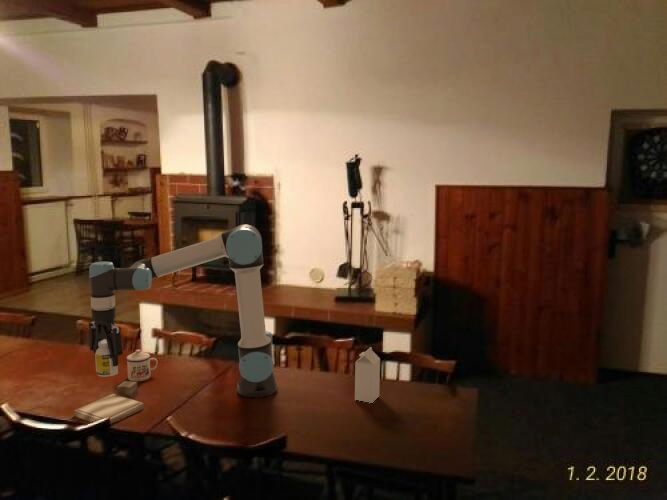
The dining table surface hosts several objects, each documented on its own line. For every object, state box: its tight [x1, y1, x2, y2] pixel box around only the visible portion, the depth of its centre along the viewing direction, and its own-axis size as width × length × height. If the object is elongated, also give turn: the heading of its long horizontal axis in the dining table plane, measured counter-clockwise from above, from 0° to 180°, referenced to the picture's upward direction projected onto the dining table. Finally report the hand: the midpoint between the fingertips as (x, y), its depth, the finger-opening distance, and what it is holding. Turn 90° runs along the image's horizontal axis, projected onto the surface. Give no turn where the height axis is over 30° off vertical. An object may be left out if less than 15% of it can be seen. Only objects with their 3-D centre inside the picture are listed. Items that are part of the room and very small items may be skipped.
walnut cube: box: [117, 380, 139, 400], centre depth 200 cm, size 5×5×5 cm
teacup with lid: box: [125, 349, 159, 383], centre depth 218 cm, size 12×9×12 cm
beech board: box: [73, 393, 145, 424], centre depth 188 cm, size 16×16×2 cm
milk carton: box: [354, 347, 381, 404], centre depth 199 cm, size 7×7×19 cm
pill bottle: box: [95, 338, 111, 378], centre depth 185 cm, size 6×6×12 cm
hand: (107, 372), depth 186 cm, fingers closed on pill bottle, 6 cm apart
